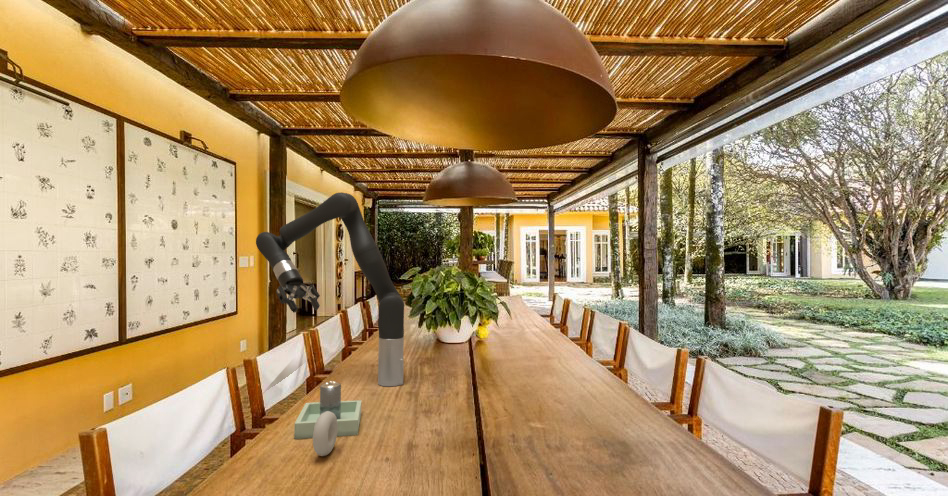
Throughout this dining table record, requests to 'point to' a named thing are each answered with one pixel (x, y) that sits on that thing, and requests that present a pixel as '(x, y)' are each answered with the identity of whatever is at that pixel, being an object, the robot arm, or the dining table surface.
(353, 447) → the dining table surface
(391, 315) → the robot arm
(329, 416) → the donut
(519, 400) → the dining table surface
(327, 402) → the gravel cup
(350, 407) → the pale green shallow tray
